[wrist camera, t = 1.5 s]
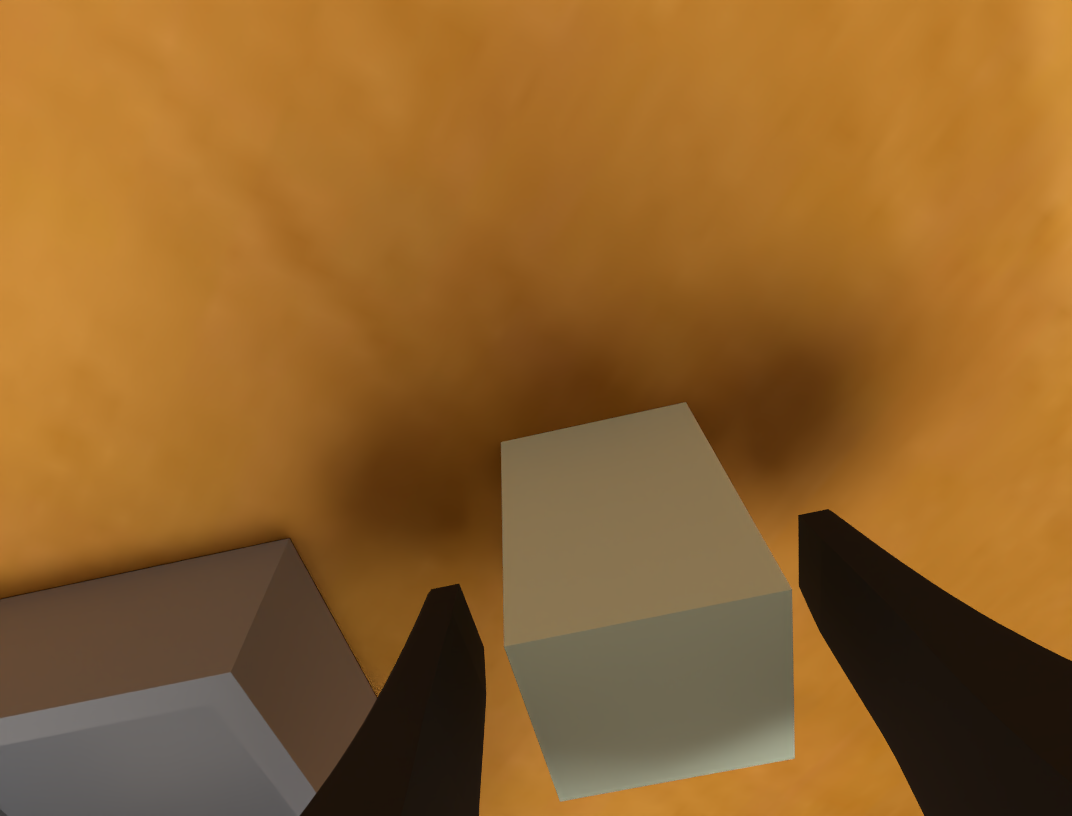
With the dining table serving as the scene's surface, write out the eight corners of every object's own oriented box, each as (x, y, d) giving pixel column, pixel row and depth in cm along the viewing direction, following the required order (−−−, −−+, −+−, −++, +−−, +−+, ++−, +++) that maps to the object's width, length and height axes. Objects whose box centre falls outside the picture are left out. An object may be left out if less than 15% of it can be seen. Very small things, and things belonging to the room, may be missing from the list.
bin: (441, 816, 22) (431, 955, 19) (92, 880, 23) (20, 1024, 20) (289, 538, 16) (230, 672, 12) (-193, 640, 17) (-377, 793, 13)
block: (701, 542, 17) (794, 758, 12) (540, 575, 17) (560, 801, 12) (685, 401, 15) (791, 588, 9) (501, 442, 15) (503, 647, 10)
